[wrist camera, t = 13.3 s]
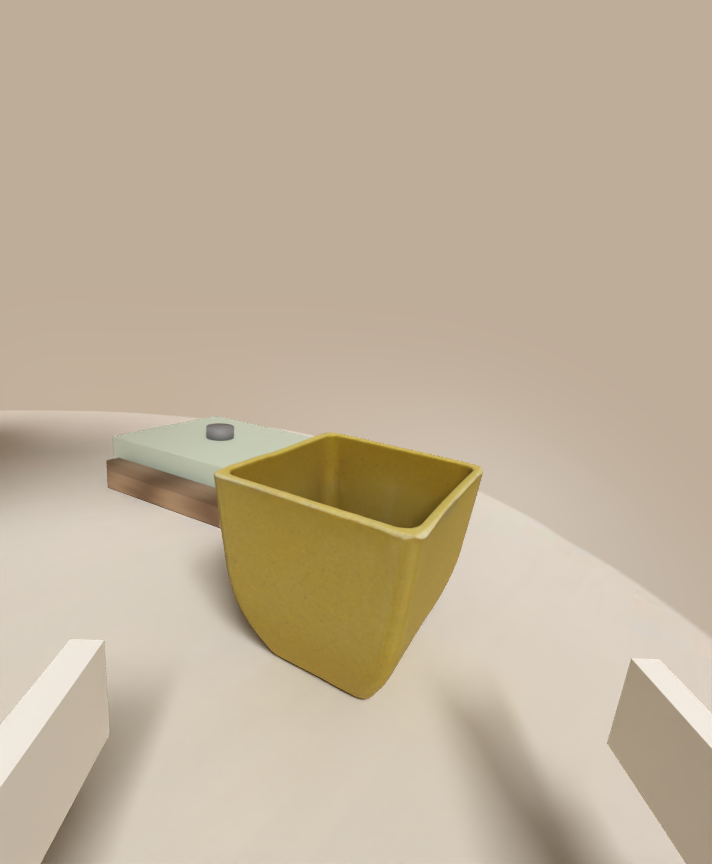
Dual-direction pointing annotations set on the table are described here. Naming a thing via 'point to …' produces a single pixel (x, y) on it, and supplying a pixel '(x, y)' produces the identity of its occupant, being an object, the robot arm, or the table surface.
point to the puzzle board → (164, 490)
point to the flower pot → (343, 550)
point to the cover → (200, 446)
